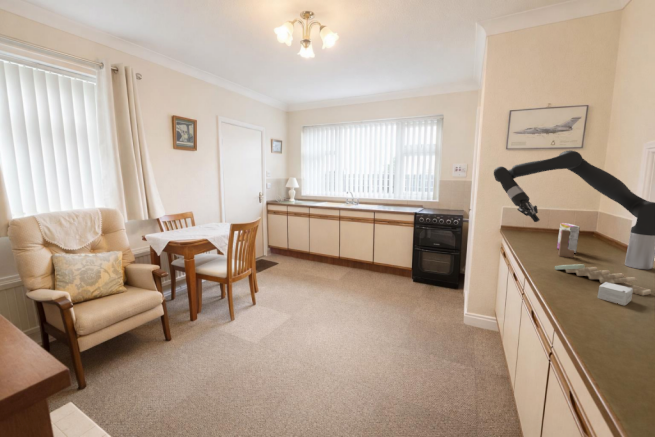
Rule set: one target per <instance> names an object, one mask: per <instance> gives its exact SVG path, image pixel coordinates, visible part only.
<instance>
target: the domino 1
mask: <svg viewBox="0 0 655 437" xmlns="http://www.w3.org/2000/svg"><path fill="white" fill-rule="evenodd" d="M579 268H586V267H585V264H584V263H582V264H578V263H577V264H561V265H554V270H556V271H557V270H565V269H579Z"/></svg>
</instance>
